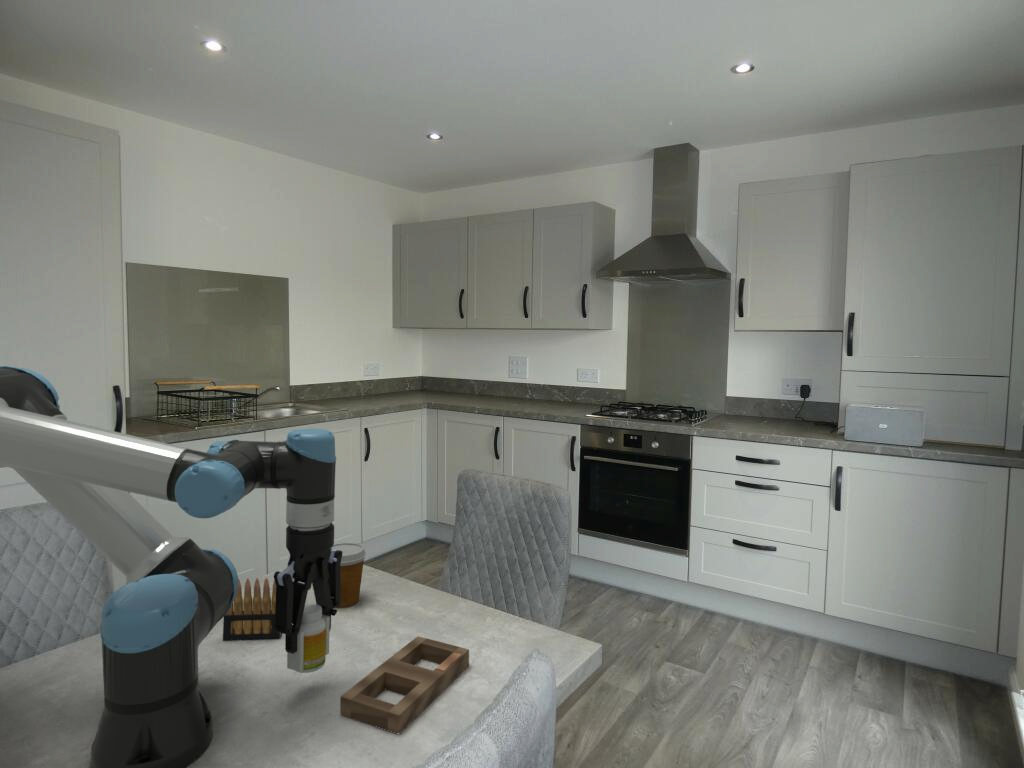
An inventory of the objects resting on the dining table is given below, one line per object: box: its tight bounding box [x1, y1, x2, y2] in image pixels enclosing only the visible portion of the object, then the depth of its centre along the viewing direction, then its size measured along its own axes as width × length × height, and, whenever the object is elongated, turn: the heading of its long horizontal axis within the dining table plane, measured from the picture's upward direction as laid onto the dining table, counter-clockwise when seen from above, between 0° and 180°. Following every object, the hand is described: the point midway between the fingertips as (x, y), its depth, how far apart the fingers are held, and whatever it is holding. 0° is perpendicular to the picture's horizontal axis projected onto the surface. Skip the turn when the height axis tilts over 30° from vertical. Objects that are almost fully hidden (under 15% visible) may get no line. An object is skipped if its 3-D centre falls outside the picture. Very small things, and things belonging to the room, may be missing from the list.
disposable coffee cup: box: [331, 542, 367, 609], centre depth 139 cm, size 10×10×12 cm
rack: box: [339, 635, 470, 734], centre depth 106 cm, size 22×11×3 cm, turn 155°
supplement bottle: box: [299, 603, 327, 674], centre depth 104 cm, size 5×5×10 cm
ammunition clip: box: [222, 577, 283, 642], centre depth 122 cm, size 11×2×12 cm, turn 97°
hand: (308, 660), depth 105 cm, fingers closed on supplement bottle, 5 cm apart
